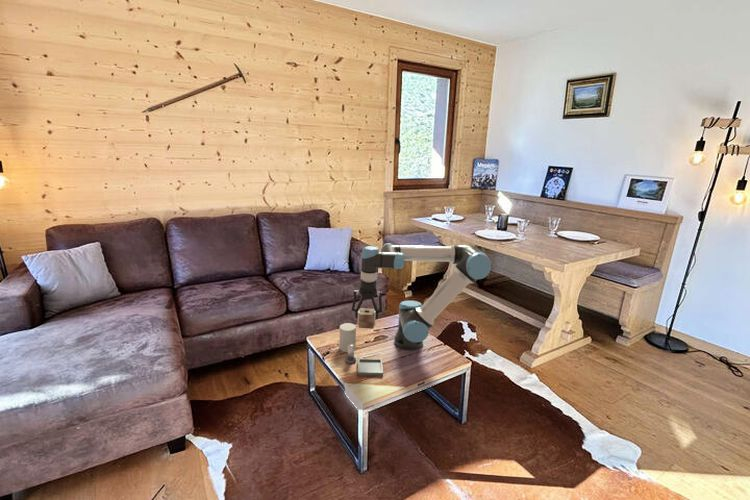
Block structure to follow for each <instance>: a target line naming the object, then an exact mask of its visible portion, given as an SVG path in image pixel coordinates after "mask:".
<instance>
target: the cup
mask: <svg viewBox="0 0 750 500" xmlns="http://www.w3.org/2000/svg"><path fill="white" fill-rule="evenodd" d="M356 334H357V325H356V324H355V323H351V322H345V323H342V324H340V325H339V350H340V351H341V352H344V353H348V344H354V351H355V350H356V346H357V345H356V341H357V336H356Z"/></svg>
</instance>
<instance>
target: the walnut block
mask: <svg viewBox="0 0 750 500" xmlns="http://www.w3.org/2000/svg"><path fill="white" fill-rule="evenodd" d="M359 310H360V313H359V325H358V329H371V330H373V329H375V328H374V327H375V326H374V311H375V309H374V308H369V307H368V308H365V307H360V308H359Z"/></svg>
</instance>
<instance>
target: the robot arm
mask: <svg viewBox="0 0 750 500" xmlns="http://www.w3.org/2000/svg"><path fill="white" fill-rule="evenodd" d="M405 261H407V262H408V261H409V262H411V261H412V262H413V261H414V262H441V263H442V262H443V263H444V262H448V263H450V264H451V265H454V271H453V272H452V273H451V274H450V276H448V278H447V279H445V280H444V282H443V283H442V284H441V285H440V286H439V287H438V288H437V289H436V290H435V291H434V292H433V293H432V295H430V296H429V298H428V299H426V301H425V302H423V304H422V303H421V302H419V301H416V300H403V301H401V302H400V303H399V307H398V308H399V310H398V326H397V331H396V333H395V335H394V340H393V343H394V345H395V346H397V348H399V349H402V350H407V351H412V350H418V349H420V348H422V347H423V345H424V344H423V343H424V341H425V340H426V339H427V338H428V336H429V330H430V329H431V328H432V327H433V326H434V324H435V319H436V318H437V317H439V315H440V314H441V313H442V312H443V311H444V310H445V309H446V308H447V307H448V305H450V303H452V301H453V300H455V299H456V297H458V295H459V294H460V293H462V291H463V290H464V289H465V288H466V287H467V286H468V285H469V284H470V285H471V284H475V283H476V282H477V281H478V280H482V279H485V278H486V277H488V275H489V274H490V272H491V269H492V262H491V259H490V258H489V257H488V255H487V253H484V251H482V250H481V249H480V248H478V247H477V246H475V245H472V244H451V245H450V246H448V245H447V246H443V245H441V246H440V245H401V244H393V243H392V242H391V243H390V242H387V243H384V244H383V245H382V247H381V249H380V250H379V247H377V246H373V245H368V246H364V247H363V248H362V251H361V265H360V266H361V267H360V268H361V270H360V284H359V285H360V286H359V289H353V301H352V307H351V311H352V312H355V314H354V317H355V319H356V320H357V322H356V326H359V313H360V308H361V306H362V304H363V301H365V300H367V299H368V300H371V303H372V305H373V309H374V327H376V320H378V319H379V313H382V312H383V302H382V297H383V291H382V290H380V291H378V289H377V284H378V283H377V280H378V269H389V270H390V269H391V270H392V269H393V270H397V269H398V270H401V269H403V268H404V266H405ZM376 294H377V297H378V305H379V308H378V305H377V301H376V299H375V296H376ZM358 295H360V296H361V297H360V299H359V301H358V303H356V302H357V297H358ZM356 304H357V305H356Z"/></svg>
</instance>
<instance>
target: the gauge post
mask: <svg viewBox="0 0 750 500" xmlns="http://www.w3.org/2000/svg"><path fill="white" fill-rule="evenodd" d="M356 362H357V358H356V357H355V350H354V344H348V352H347V357H345V363H346V364H349V365H352V364H355V363H356Z"/></svg>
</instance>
